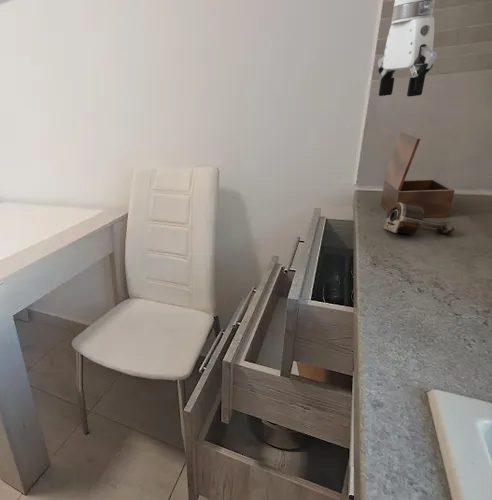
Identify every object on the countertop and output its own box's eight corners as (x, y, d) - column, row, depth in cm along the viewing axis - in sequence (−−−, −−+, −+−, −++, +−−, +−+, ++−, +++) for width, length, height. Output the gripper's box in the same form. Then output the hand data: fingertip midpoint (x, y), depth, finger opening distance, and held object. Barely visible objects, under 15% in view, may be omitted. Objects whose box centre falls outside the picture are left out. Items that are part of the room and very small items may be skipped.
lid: (402, 132, 92) (400, 132, 92) (420, 138, 83) (417, 138, 83) (385, 180, 98) (383, 179, 98) (400, 190, 88) (397, 190, 89)
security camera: (386, 200, 88) (383, 203, 80) (456, 199, 80) (460, 203, 73) (384, 230, 89) (381, 236, 81) (453, 232, 82) (456, 239, 74)
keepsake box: (428, 203, 98) (434, 179, 95) (448, 217, 88) (454, 190, 86) (380, 205, 101) (384, 181, 98) (394, 218, 91) (398, 192, 89)
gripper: (461, 3, 75) (443, 94, 82) (400, 18, 91) (389, 93, 98) (426, 7, 75) (410, 98, 82) (370, 22, 91) (361, 96, 97)
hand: (398, 95), depth 90 cm, fingers open, 9 cm apart
